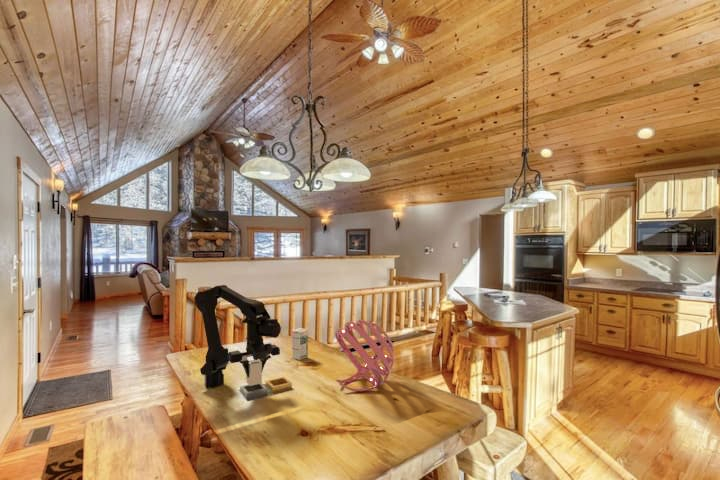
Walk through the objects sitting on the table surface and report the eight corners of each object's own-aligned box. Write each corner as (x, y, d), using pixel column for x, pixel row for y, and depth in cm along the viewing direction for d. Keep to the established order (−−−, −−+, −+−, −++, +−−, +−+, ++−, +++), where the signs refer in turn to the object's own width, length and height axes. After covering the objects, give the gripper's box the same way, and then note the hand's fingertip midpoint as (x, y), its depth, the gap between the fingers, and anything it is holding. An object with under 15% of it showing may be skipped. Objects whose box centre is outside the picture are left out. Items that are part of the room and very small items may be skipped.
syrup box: (299, 360, 174) (299, 331, 174) (291, 358, 177) (291, 329, 178) (307, 357, 178) (308, 329, 179) (300, 355, 182) (300, 327, 182)
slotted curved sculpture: (318, 350, 125) (373, 304, 135) (309, 348, 151) (356, 309, 161) (365, 413, 123) (417, 362, 133) (347, 400, 149) (392, 358, 159)
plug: (250, 385, 129) (250, 363, 129) (246, 382, 133) (246, 360, 133) (261, 383, 132) (261, 361, 132) (257, 379, 135) (258, 358, 136)
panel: (247, 403, 125) (247, 395, 125) (238, 392, 135) (238, 384, 135) (293, 392, 135) (294, 384, 135) (282, 382, 145) (282, 375, 145)
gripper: (235, 343, 121) (234, 388, 120) (285, 335, 131) (285, 377, 131) (227, 336, 130) (226, 378, 130) (274, 330, 141) (274, 368, 140)
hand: (254, 375), depth 132 cm, fingers closed on plug, 4 cm apart
